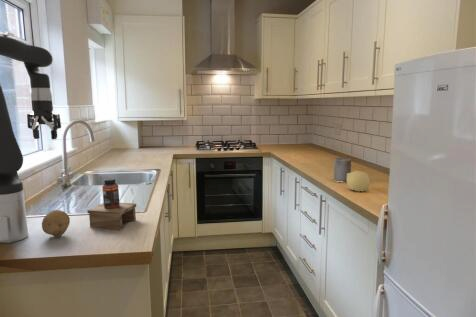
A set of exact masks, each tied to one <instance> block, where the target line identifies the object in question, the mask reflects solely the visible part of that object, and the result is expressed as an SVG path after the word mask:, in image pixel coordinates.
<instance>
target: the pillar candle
mask: <svg viewBox="0 0 476 317" xmlns="http://www.w3.org/2000/svg"><path fill="white" fill-rule="evenodd" d="M333 162H334V164H333V168H334V169H333V181H334V180H336V181H343V182H347V173H351V172H352V158H350V157H335V158H334V161H333Z"/></svg>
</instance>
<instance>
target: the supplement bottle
mask: <svg viewBox="0 0 476 317" xmlns="http://www.w3.org/2000/svg"><path fill="white" fill-rule="evenodd" d="M103 181H104V184H103V185H102V199H103V201H102V203H104V208H107V209H112V208H116V207H118V206H119V205H120V203H121V202H120V192H119V185H118V183H116V178H114V177H109V178H105V179H104V180H103Z"/></svg>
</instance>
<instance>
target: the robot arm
mask: <svg viewBox="0 0 476 317" xmlns="http://www.w3.org/2000/svg"><path fill="white" fill-rule="evenodd" d="M0 56H2V57H6V58H9V59H12V60H15V61H18V62H23V64H24V67H25V69H26V71H27V75H28V77H29V82H30V83H29V84H30V85H29V86H30V100H31V101H30V102H31V110H32V111H33V113H27V115H26V119H27V122H26V123H27V128H28V129H31V130H32V137H33V139H35V140H38V139H40V130H39V128H40V127H41V126H42V125H46V126H47V127H49V129H50V138H51V140H57V138H58V130H59V129H61V128H62V123H61V122H62V121H61V117H60V113H53V111H54V106H53V104H54V103H53V94H52V90H51V80H50V76H49V75H48V74H47V73H44V72H41V71H40V69H39V68H46V67H50V66H51V65H52V63H53V60H54V59H53V58H54V57H53V55H52V53H51V52H50V51H49V50H48V49H46V48H43V47H41V46H36V45H30V44H27V43H24V42H23V41H19V40H18V39H15V38H11V37H8V36H3V35H0ZM23 164H24V156H23V153H22V151H21V148H20V146H19V144H18V141H17V139H16V135H15V132H14V129H13V126H12V120H11V118H10V112H9V108H8V104H7V101H6V97H5V93H4V90H3V86H2V83H1V82H0V243H2V244H11V243H14V242H18V241H22V240H24V239H26V238H27V237H28V236H29V231H28V220H27V213H26V202H25V193H24V184H23V182H22V180H21V179H20V177H19V174H18V172H19V171H20V170H21V169H22V166H23Z"/></svg>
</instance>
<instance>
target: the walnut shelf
mask: <svg viewBox="0 0 476 317" xmlns="http://www.w3.org/2000/svg"><path fill="white" fill-rule="evenodd" d="M119 203H120V205H119V206H118V207H116V208H112V209H107V208H104V202H102V203H100V204H97V205H96V206H94V207H91V208H89V209H87V210H86V211H87V214H88V216H89V228H91V229H103V230H112V231H113V230H114V231H122V230H123V221H125V222H135V221H136V220H137V219H136V218H137V215H136V207H137V203H132V202H119Z"/></svg>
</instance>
